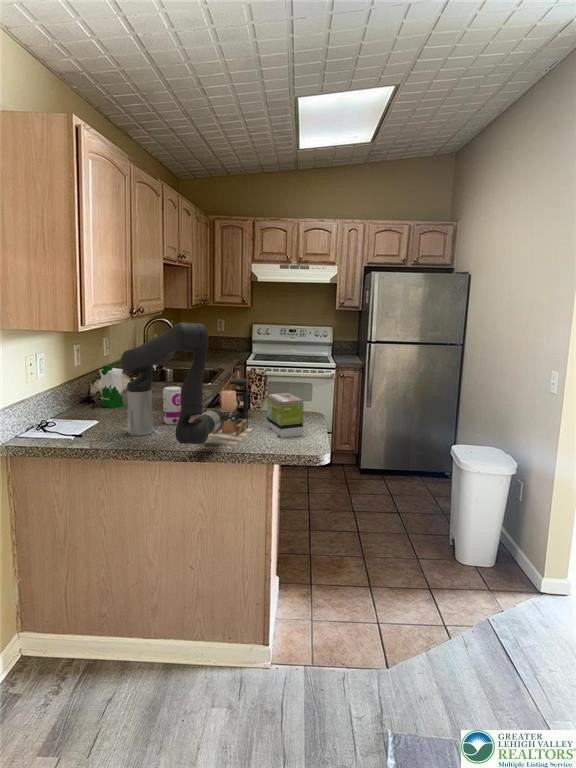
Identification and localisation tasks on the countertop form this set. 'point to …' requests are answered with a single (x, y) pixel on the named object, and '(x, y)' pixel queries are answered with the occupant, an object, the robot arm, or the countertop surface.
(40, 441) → the countertop surface
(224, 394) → the dome-topped peach cylinder
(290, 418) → the tea box
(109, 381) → the milk carton
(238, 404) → the french press
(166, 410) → the supplement can
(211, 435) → the dock
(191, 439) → the robot arm
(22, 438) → the countertop surface
